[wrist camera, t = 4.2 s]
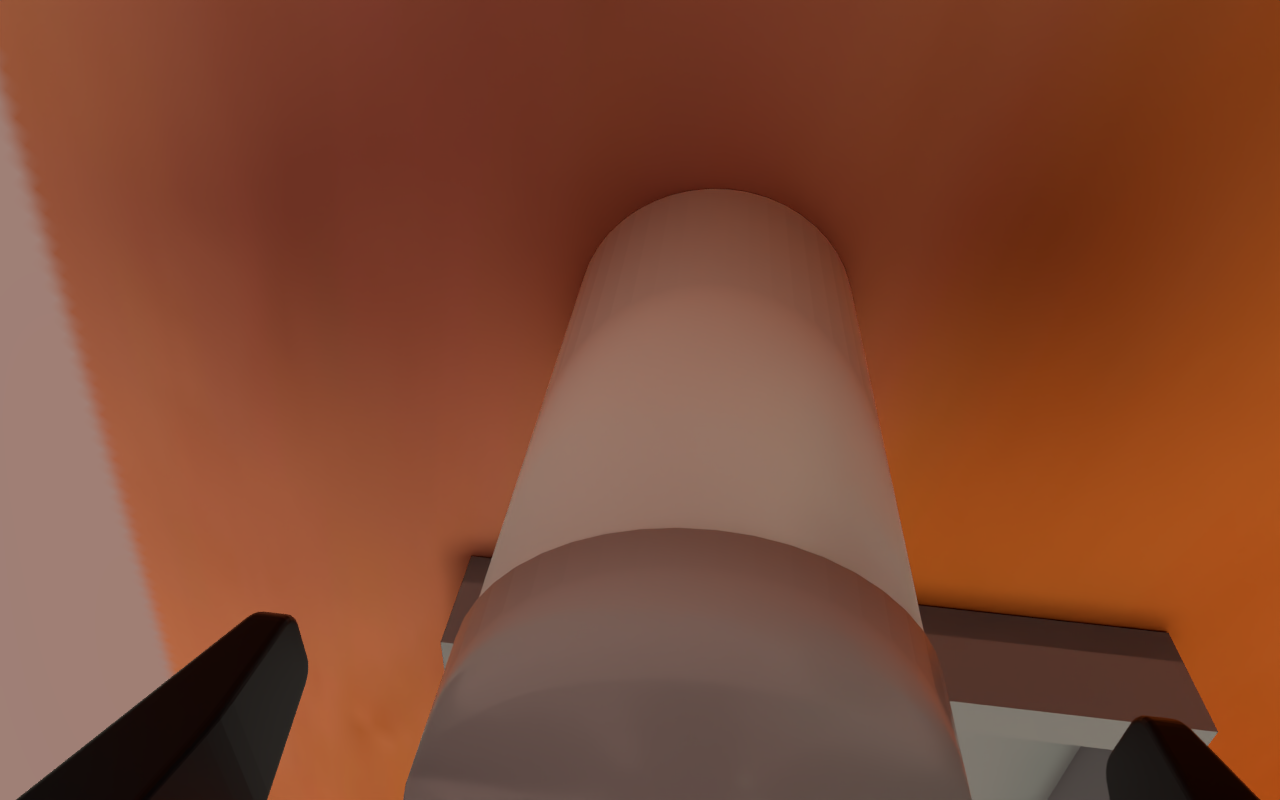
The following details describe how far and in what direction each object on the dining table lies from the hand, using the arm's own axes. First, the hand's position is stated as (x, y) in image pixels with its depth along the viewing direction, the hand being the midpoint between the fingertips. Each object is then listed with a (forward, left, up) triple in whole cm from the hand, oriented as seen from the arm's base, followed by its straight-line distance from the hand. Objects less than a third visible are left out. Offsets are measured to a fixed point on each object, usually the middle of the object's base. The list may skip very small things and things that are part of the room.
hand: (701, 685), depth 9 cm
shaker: (0, 0, -8) cm, 8 cm away
